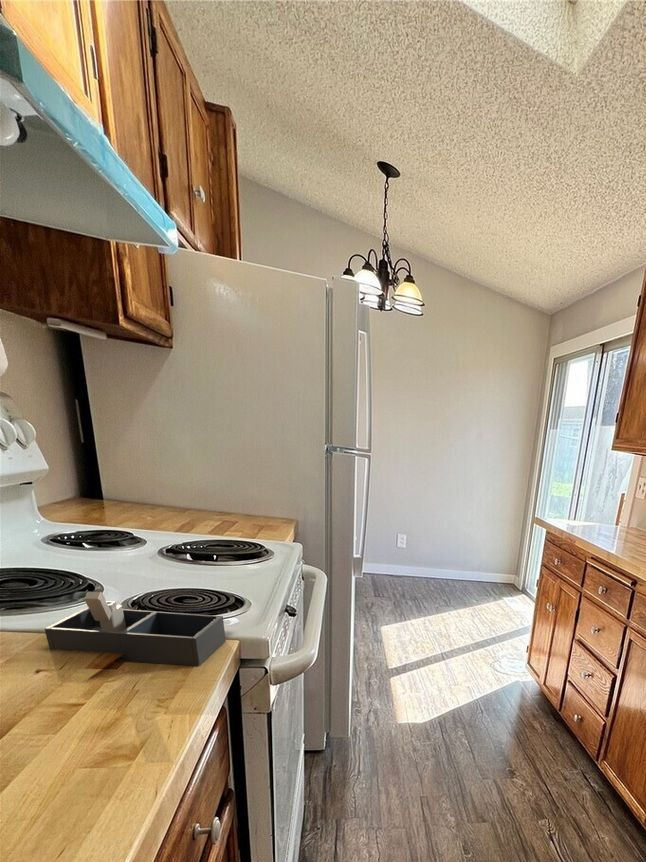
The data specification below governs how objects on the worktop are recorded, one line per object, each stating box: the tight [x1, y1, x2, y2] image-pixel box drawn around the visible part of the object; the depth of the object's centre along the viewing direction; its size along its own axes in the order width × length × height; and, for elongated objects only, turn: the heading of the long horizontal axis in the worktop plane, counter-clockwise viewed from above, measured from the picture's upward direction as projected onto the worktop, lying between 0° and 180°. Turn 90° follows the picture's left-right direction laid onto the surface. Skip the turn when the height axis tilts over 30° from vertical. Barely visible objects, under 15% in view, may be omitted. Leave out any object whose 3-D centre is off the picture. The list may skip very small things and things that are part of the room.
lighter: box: [84, 591, 126, 632], centre depth 77 cm, size 7×2×8 cm, turn 15°
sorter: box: [44, 606, 227, 667], centre depth 79 cm, size 19×10×4 cm, turn 95°
